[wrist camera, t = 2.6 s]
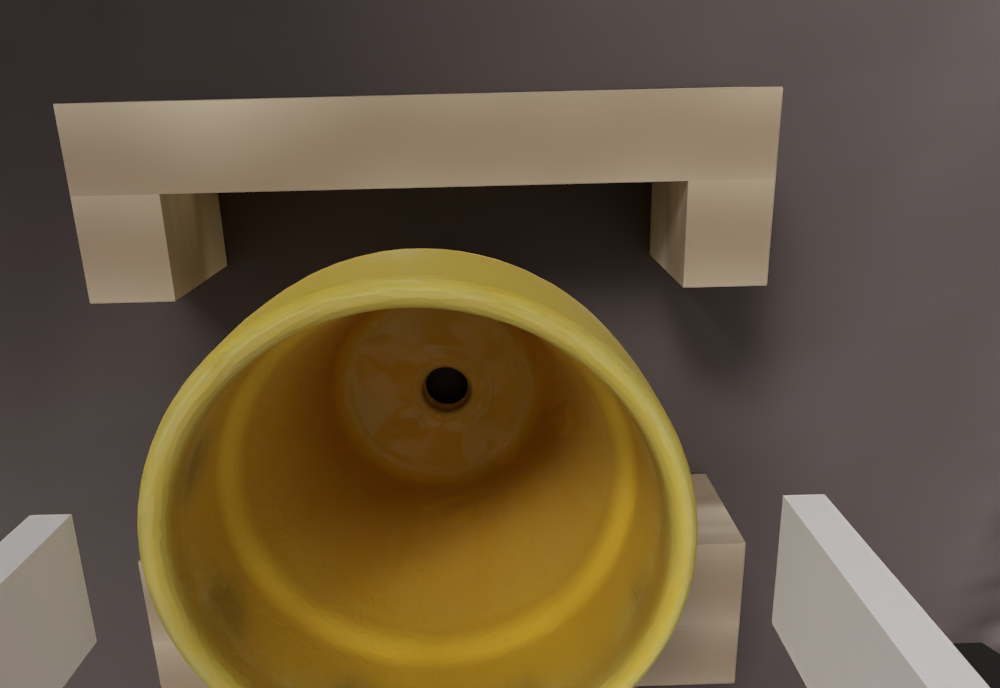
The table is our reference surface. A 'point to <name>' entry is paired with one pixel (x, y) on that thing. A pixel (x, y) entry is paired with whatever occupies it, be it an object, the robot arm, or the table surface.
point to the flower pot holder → (440, 163)
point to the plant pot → (418, 490)
